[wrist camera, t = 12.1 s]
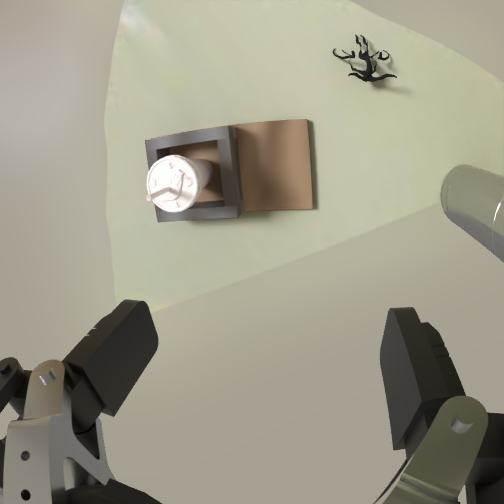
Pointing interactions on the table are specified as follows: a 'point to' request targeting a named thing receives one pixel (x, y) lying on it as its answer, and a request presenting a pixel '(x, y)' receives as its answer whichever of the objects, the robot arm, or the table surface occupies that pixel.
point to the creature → (366, 57)
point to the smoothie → (177, 182)
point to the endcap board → (243, 168)
